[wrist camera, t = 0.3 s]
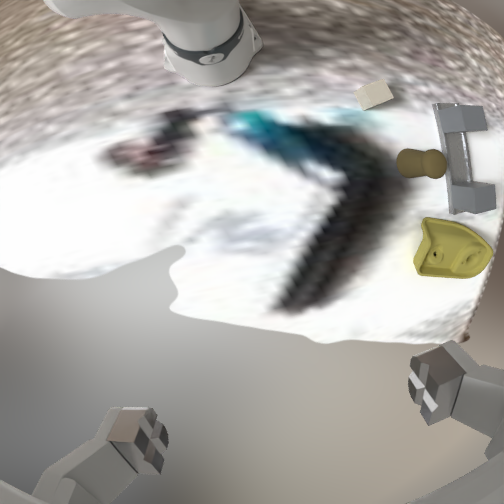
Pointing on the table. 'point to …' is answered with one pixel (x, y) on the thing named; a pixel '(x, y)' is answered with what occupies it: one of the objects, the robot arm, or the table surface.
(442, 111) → the block
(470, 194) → the block
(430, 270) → the plastic component
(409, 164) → the cork
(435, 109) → the rail
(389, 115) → the table surface
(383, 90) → the beige block
